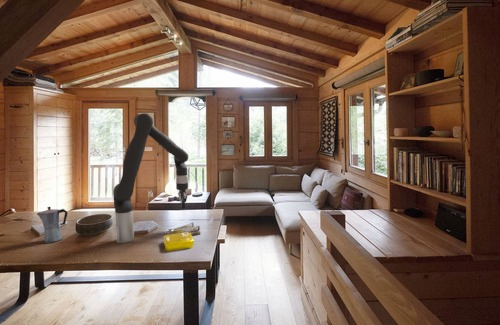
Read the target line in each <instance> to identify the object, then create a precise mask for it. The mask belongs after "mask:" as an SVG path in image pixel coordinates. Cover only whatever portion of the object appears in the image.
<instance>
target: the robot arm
mask: <svg viewBox="0 0 500 325" xmlns="http://www.w3.org/2000/svg"><path fill="white" fill-rule="evenodd" d="M133 124H134V126H135V130H134V131H135V132H134V134H133V137H132V139H131V140H130V142H129V144H128V146H127V148H126V151H125V154H124V158H123V163H122V174H121V179H120V181H119V183H118V184H116V185H115V186H114V188H113V191H112V195H113V207H114V214H115V238H116V239H115V240H116V244H125V243H130V242H133V241H134V240H135V232H134V231H135V230H134V229H135V228H134V211H133V208H134V207H133V204H132V196H133V194H134V189H135V185H136V184H135V182H136V178H137V175H138V173H139V170H140V166H141V163H142V160H143V155H144V152H145V148H146V144H147V141H148V138H149V137H150V138H152V139H153V140H154V141H155V142H157V143H158V145H160V146H161V147H162V149H164V150H165V151H166V152H167V153H169V154H170V155H172V156H173V160H174V161H173V162H174V165H175V186H176V188H175V189H176V191H179V192H177V196H178V199H179V202H180V208H181V209H186V203H187V200H188V195H187V192H186V191H187V190H189V176H188V167H187V166H186V162H187V161H188V160H189V154H188V152H186V151H185V150H184V149H183V148H181V147H180V146H179V145H177V144H176V142H174V141H173V140H172V139H171V138H170V137H169V136H167V135H166V134H165V133H164V132H162V131H160V130H159V129H158V128H157V127H155V125H154V118H153V117H152V115H150V113H146V112H145V113H139V114H137V115H136V116H134V117H133Z"/></svg>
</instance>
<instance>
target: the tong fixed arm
mask: <svg viewBox="0 0 500 325" xmlns="http://www.w3.org/2000/svg"><path fill="white" fill-rule="evenodd" d="M198 230H199V231H200V225H196V226H194V227H189V228H184V229H178V230H174V228H169V229H168V231H169V234H177V233H185V232H192V231H198Z"/></svg>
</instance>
